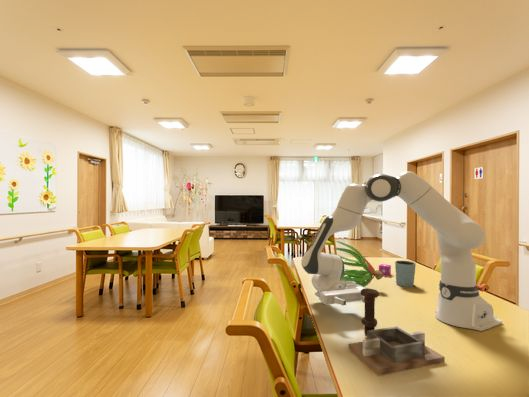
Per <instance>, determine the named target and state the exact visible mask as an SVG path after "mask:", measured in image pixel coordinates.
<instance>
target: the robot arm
mask: <svg viewBox="0 0 529 397" xmlns="http://www.w3.org/2000/svg"><path fill="white" fill-rule="evenodd" d="M395 197H397V198H400V199H401V200H402V201H403V202H404V203H405V204H406V205H408V207H409V208H411V210H413V211H414V212H415V213H416V214H417V215H418V216H419V217H420V218H421V219H422V220H423V221H424V222H426V224H428V225H429V226H431V227H432V229H434V230H435V233H436V238H437V246H438V251H439V252H438V253H439V258H440V280H439V284H438V286H439V288H438V290H439V293H438V297H437V298H438V299H437V305H436V306H437V307H436V308H435V318H436V319H437V320H438V321H440V322H442V323H445V324H447V325H451V326H453V327H459V328H464V329H470V330H476V331H480V332H482V331H486V330H488V329H491V328H493V327H496V326H498V325H501V324H503V322H502V320H501V319H500V318H498V317H496V316H495V314H494V308H493V306H492V304H491V303H490V302H488V301H487V300H486V299H485V298H483V297H482V296H481V295H480V292H484V291H485V286H483V285H480V284H477V285H476V275H477V274H476V272H477V271H476V267H477V265H476V262H475V260H474V257H473V253H472V250H474V249H477V248H479V247H481V246H482V245H483V243H484V242H485V241H486V240H485V239H486V232H485V230H484V228H483V227H482V226H481V225H480V224H479V223H478V222H476V221H474V219H472V218H471V217H469V216H468V215H467V214H466V213H464V212H463V211H462V210H460V209H459V208H458V207H456V206H455V205H453V204H452V202H451V203H450V201H448V200H447V199H446V198H445V197H444V196H443V195H442V194H441V193H439V191H438V190H437V189H435V188H434V186H432V185H431V184H430V183H429V182H428V181H426V180H425V179H424V178H423V177H421V176H420V175H418V174H417V173H415V172H414V171H411V170H407V171H404V172H401V173H399V174H397V176H392V175H389V174H384V173H377V174H373V175H371V176H370V177H369V178H368V179H367V181H365V182H364V183H363V184H358V183H350V184H347V185H346V186H345V188H344V190H343V192H342V193H341V196H340V198H339V200H338V203H337V205H336V208H335V209H334V211H333V212H332V213H331V215H329V216H326V218H324V220H323V221H322V223H321V225H320V226H319V227H318V230H317V231H316V234H315V235H314V238H312V239H313V240H312V241H311V243H310V245H309V247H308V248H307V250H306V251H305V252H304V254H303V256H302V258H301V267H302V268H303V270H304V271H305V272H306V273H307V274H308V275H312V277H311V284H312V286H313V288H314V289H315V292H314V295H315V296H316V297H318V300H319V301H320V302H321V303H322V304H324V305H335V304H337V305H341V306H347V303H351V302H352V303H353V302H363V304H365V300H364V296H363V295H361V290H362V289H366V286H365V287H363V286H361V285H357V284H356V282H354V281H343V280H341V278H342V276H343V277H344V275H343V273H344V271H345V270H344V269H345V264H344V263H343V262H344V259H343V258H341V257H340V256H341V255H340V256H338V255H339V254H337V255H334V253H333V254H332V253H327V252H322V251H323V249H324V248H325V246H326V244H327V242H328V239H329V237H331V236H332V235H334V234H336V233H339V232H346V231H351V230H353V229H355V228H357V227H358V225H359V224H360V222H361V221H362V218H363V215H364V212H365V209H366V206H367V205H368V203H370V202H371V201H374V202H386V201H389V200H390V199H393V198H395Z"/></svg>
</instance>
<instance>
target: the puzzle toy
mask: <svg viewBox="0 0 529 397" xmlns="http://www.w3.org/2000/svg"><path fill="white" fill-rule="evenodd" d="M391 269H392V265H391V264H384V263H381V264H379V265H378V270H380V271H381V272H382V273H383V277H384V276H385V277H390V275H391V273H392V270H391Z"/></svg>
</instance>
